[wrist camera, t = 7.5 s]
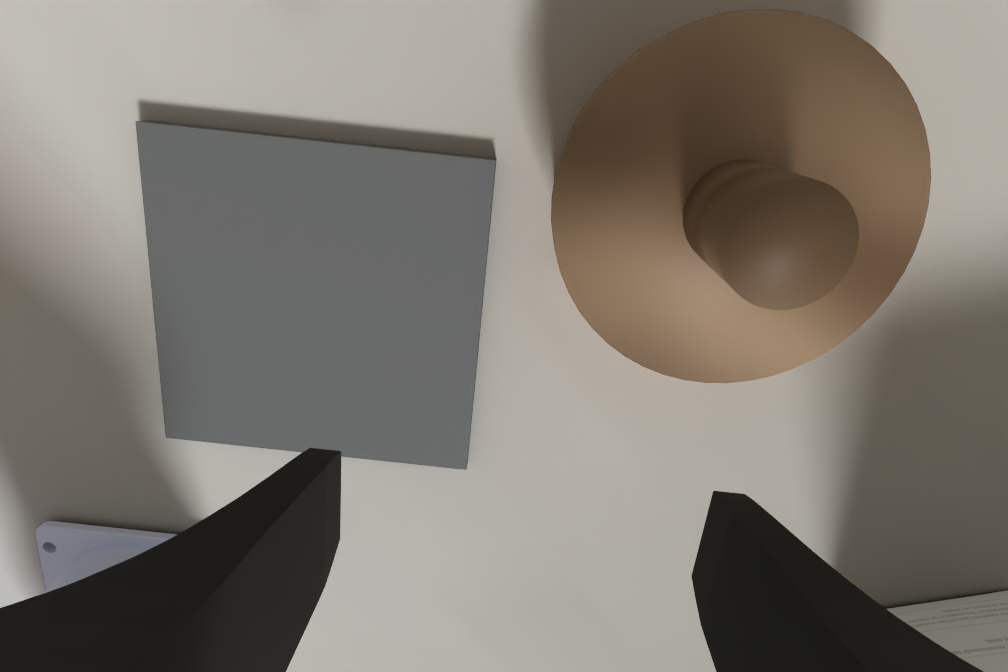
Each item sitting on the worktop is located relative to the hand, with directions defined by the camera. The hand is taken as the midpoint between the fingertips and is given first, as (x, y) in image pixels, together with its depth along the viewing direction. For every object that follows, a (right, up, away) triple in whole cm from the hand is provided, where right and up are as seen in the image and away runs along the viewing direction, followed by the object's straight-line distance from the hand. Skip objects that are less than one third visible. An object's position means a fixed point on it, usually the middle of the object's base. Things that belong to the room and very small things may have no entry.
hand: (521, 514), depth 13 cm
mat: (-7, +4, +10) cm, 13 cm away
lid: (+6, +7, +5) cm, 10 cm away
